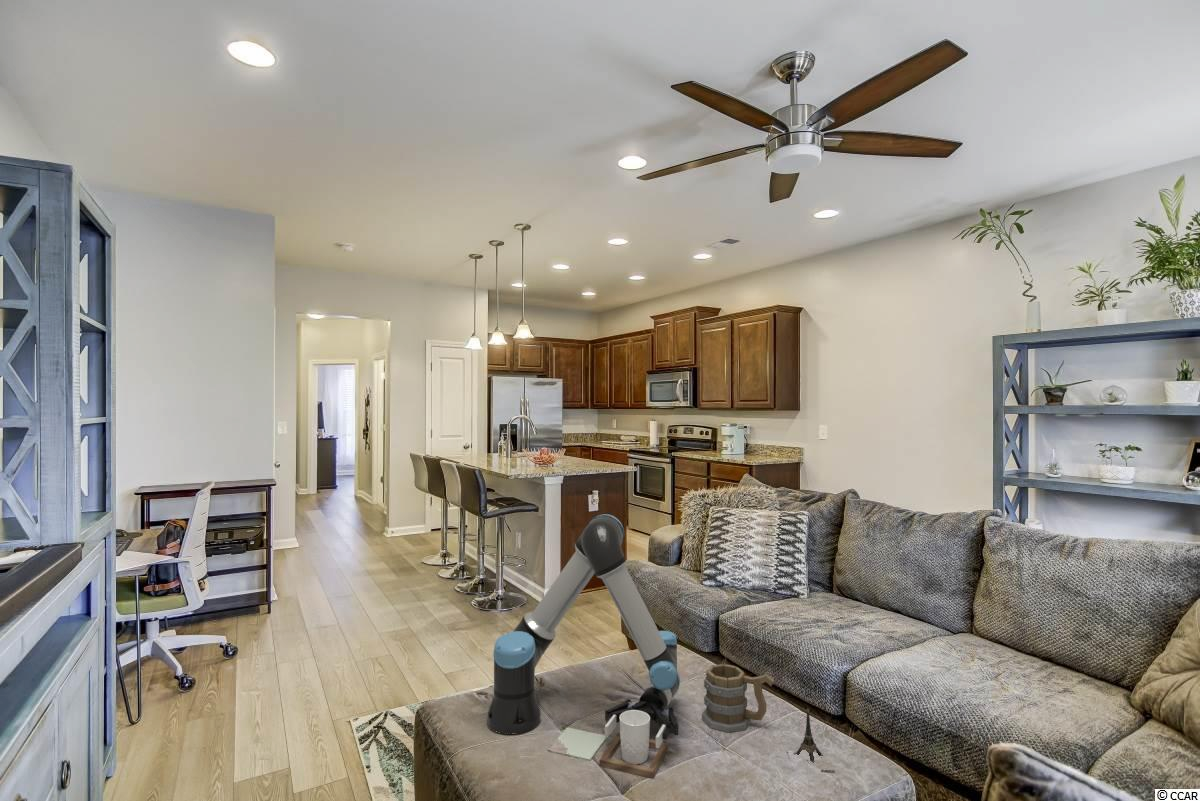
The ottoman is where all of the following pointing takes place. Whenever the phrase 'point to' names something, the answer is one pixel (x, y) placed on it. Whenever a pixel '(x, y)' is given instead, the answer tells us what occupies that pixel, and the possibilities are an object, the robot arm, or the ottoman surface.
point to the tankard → (731, 698)
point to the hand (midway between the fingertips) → (631, 737)
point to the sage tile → (581, 743)
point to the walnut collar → (629, 767)
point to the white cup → (634, 736)
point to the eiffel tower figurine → (810, 743)
